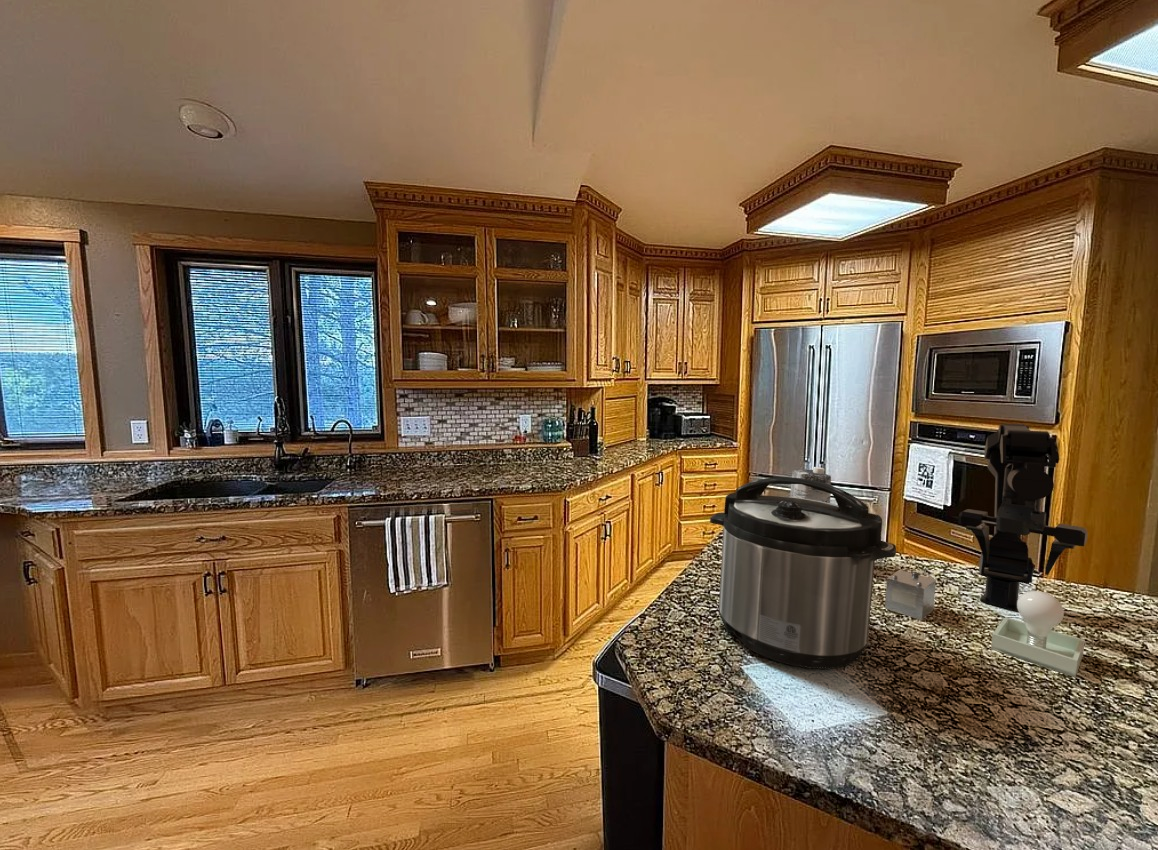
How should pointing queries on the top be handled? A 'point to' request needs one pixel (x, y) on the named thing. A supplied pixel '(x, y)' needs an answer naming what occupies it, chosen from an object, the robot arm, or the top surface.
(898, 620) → the top surface
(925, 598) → the block
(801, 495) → the juice carton
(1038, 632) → the lightbulb
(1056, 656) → the tray
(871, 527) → the pressure cooker
